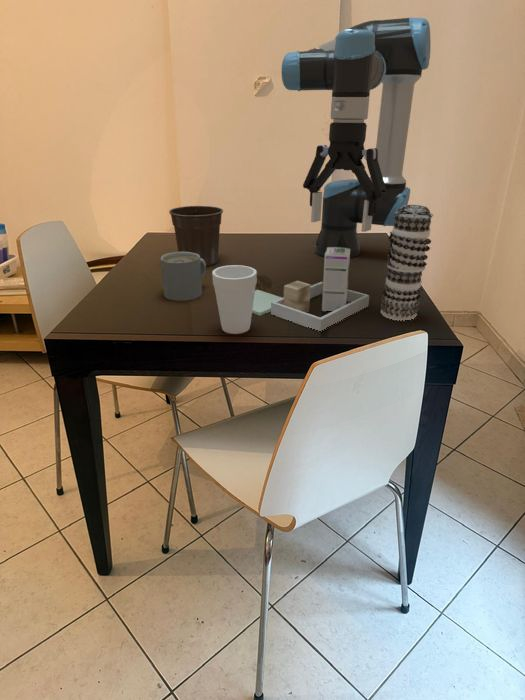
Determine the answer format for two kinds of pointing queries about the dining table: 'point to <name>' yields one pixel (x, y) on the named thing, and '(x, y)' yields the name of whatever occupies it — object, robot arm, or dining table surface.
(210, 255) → the plant pot
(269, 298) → the sage pad
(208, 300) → the dining table surface
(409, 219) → the decorative candle
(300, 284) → the beech block
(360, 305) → the parts bin
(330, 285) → the syrup box
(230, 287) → the foam cup
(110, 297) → the dining table surface
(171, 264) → the coffee mug
